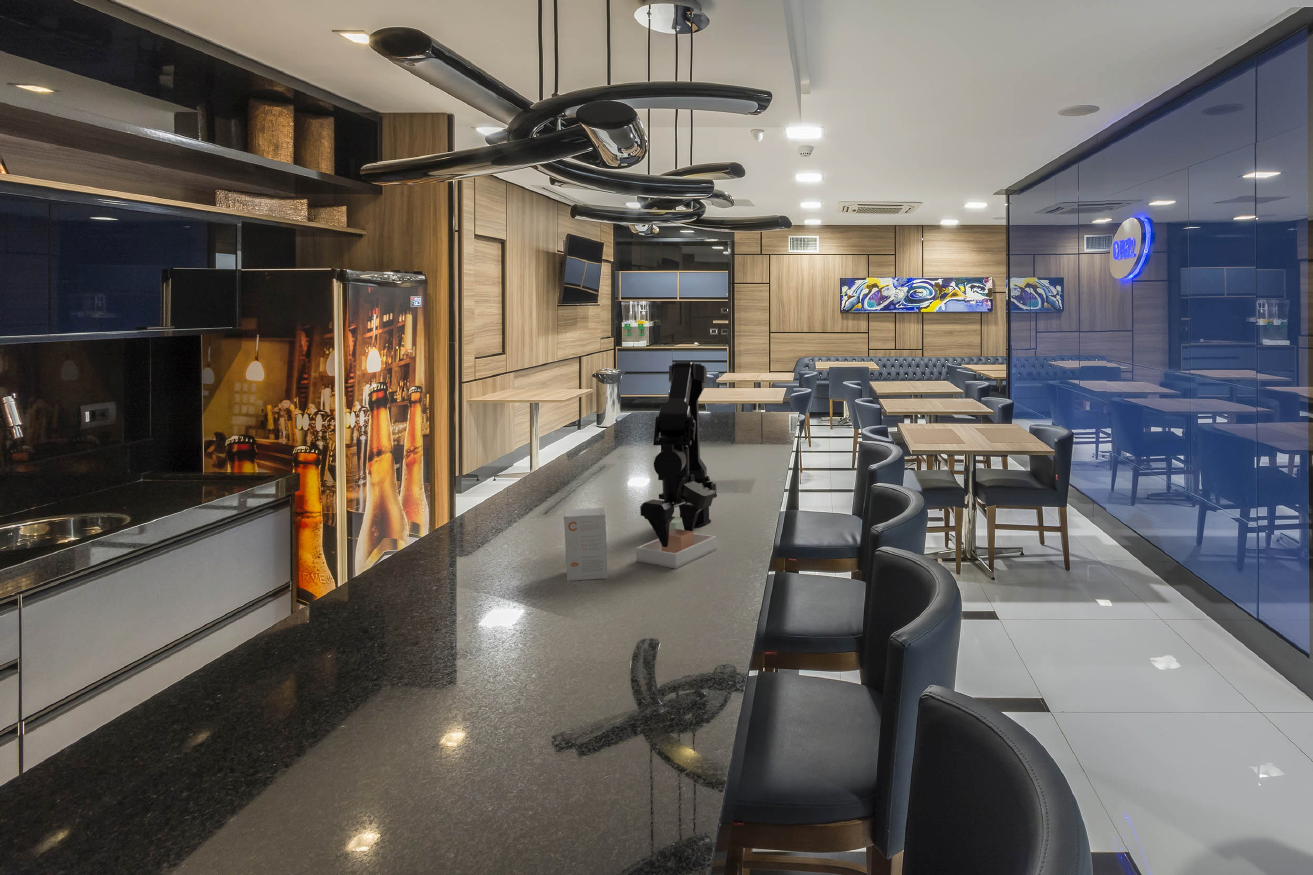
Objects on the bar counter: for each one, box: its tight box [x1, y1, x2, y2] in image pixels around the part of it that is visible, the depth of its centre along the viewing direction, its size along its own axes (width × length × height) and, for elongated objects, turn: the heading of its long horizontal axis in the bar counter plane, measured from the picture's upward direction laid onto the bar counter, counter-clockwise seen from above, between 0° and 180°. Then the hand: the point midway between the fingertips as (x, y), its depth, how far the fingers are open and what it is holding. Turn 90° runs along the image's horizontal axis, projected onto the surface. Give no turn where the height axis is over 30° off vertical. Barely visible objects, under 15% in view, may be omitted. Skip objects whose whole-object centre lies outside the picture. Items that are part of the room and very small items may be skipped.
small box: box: [563, 507, 609, 582], centre depth 162 cm, size 8×6×13 cm
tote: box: [635, 532, 718, 570], centre depth 175 cm, size 10×16×3 cm, turn 145°
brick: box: [661, 529, 695, 553], centre depth 175 cm, size 5×5×4 cm
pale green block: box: [669, 516, 684, 531], centre depth 189 cm, size 5×5×4 cm
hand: (677, 541), depth 174 cm, fingers open, 9 cm apart
